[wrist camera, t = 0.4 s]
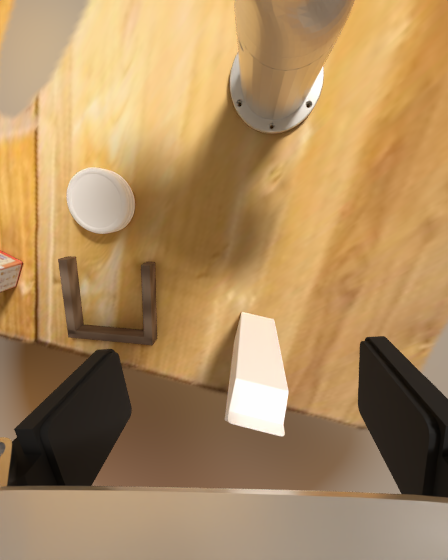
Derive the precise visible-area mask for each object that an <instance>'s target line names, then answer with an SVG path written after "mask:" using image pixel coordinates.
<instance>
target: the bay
mask: <svg viewBox="0 0 448 560" xmlns="http://www.w3.org/2000/svg"><path fill="white" fill-rule="evenodd" d="M58 262H59V269H60V277H61V284H62V292H63V299H64V307H65V314H66V322H67V330H68V337H71V338H81V339H92V340H103V341H113V342H124V343H134V344H145V345H153V344H154V342H155V341H156V339H157V315H156V278H155V262H146V263H144V264H142V265H141V277H142V300H143V323H144V330H137V329H126V328H115V327H104V326H93V325H84V324H83V316H82V307H81V298H80V289H79V280H78V271H77V263H76V257H69V256H68V257H64V258H61V259H58Z"/></svg>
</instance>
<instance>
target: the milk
mask: <svg viewBox="0 0 448 560" xmlns="http://www.w3.org/2000/svg"><path fill="white" fill-rule="evenodd" d="M287 399H288V387H287V382H286V377H285V372H284V367H283V362H282V356H281V351H280V346H279V341H278V336H277V331H276V326H275V321H274V319H270V318H266V317H262V316H258V315H253V314H249V313H245V312H241V316H240V320H239V324H238V328H237V332H236V336H235V340H234V347H233V355H232V363H231V372H230V380H229V388H228V396H227V405H226V413H225V420H226V421H228V422H230V423H231V424H234V425H239V426H242V427H246V428H250V429H254V430H258V431H262V432H266V433H270V434H274V435H278V436H283V435H284V426H283V423H284V416H285V411H286V405H287Z"/></svg>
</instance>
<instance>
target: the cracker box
mask: <svg viewBox="0 0 448 560" xmlns="http://www.w3.org/2000/svg"><path fill="white" fill-rule="evenodd" d="M22 263H23V262H22V261H20V260H18V259H16V258H14V257H12V256H10V255H8V254H6V253H4V252H2V251H1V250H0V292H2V291H5V290H8V289H10V288H13V287H16V285H17V281H18V278H19V274H20V271H21V267H22Z"/></svg>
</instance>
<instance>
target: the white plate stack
mask: <svg viewBox="0 0 448 560" xmlns="http://www.w3.org/2000/svg"><path fill="white" fill-rule="evenodd" d="M67 204H68V208H69V210H70V213H71V215H72V216H73V218H74V219H75V221H76V222H77V223H78V224H79V225H80V226H82V227H83V228H85V229H86V230H88V231H91V232H94V233H98V234H107V233H112V232H116V231H119V230H121V229H123V228H124V227H126V226H127V225H128V224H129V222H130V221H131V219H132V217H133V215H134V211H135V199H134V194H133V192H132V189H131V187H130V186H129V184H128V183H127V182H126V180H125V179H124V178H123V177H121V176H120V175H119V174H117V173H115V172H113V171H110V170H106V169H102V168H96V167H90V168H86V169H83V170H81V171H79V172H78V173H76V174H75V175H74V176H73V177H72V179H71V180H70V182H69V185H68V188H67Z"/></svg>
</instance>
